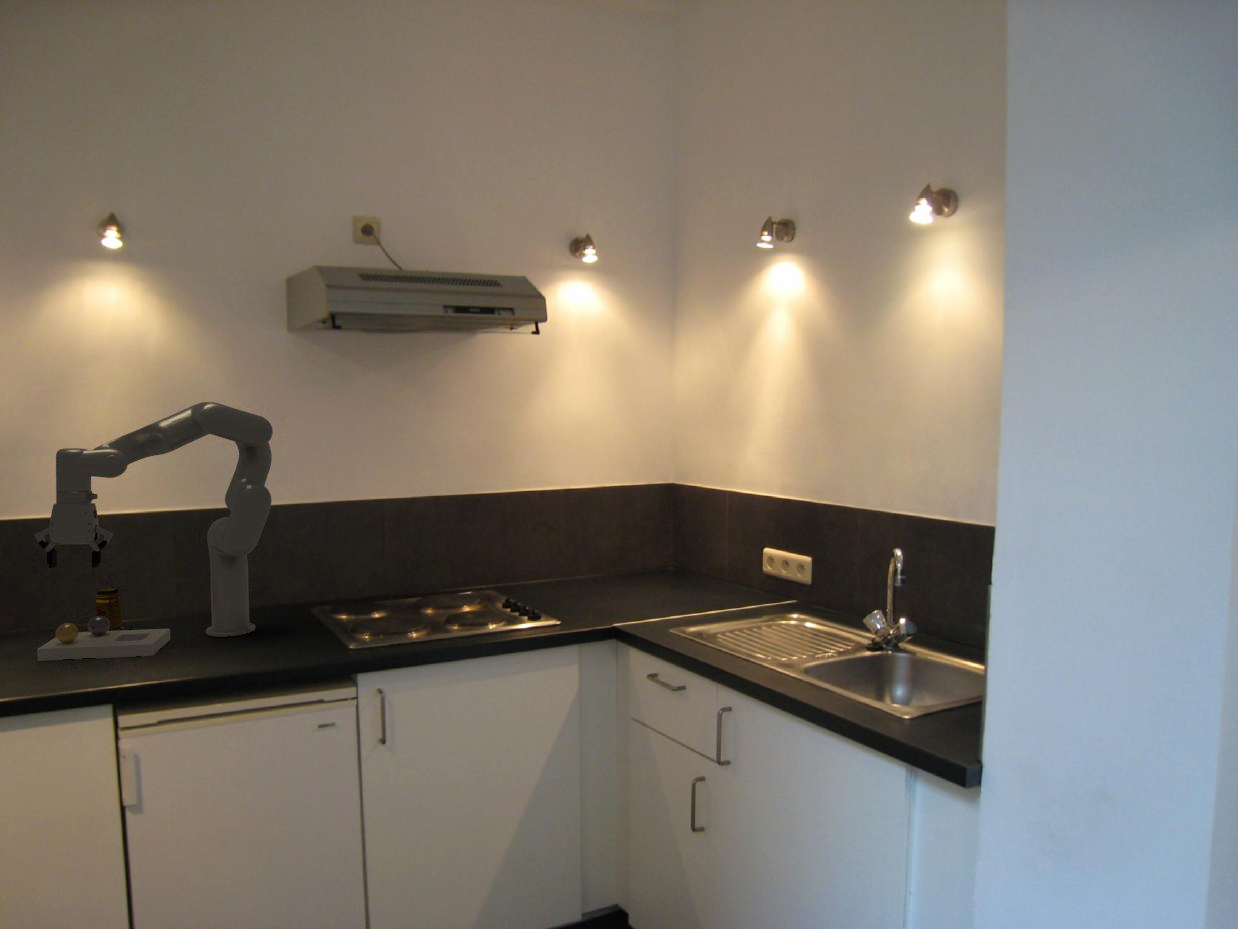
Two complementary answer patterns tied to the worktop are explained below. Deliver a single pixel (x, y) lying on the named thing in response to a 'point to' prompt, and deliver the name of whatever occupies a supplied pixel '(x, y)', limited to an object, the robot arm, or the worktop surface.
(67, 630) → the brass ball
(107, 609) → the condiment
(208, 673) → the worktop surface
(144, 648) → the hole plate
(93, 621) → the steel ball
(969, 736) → the worktop surface
